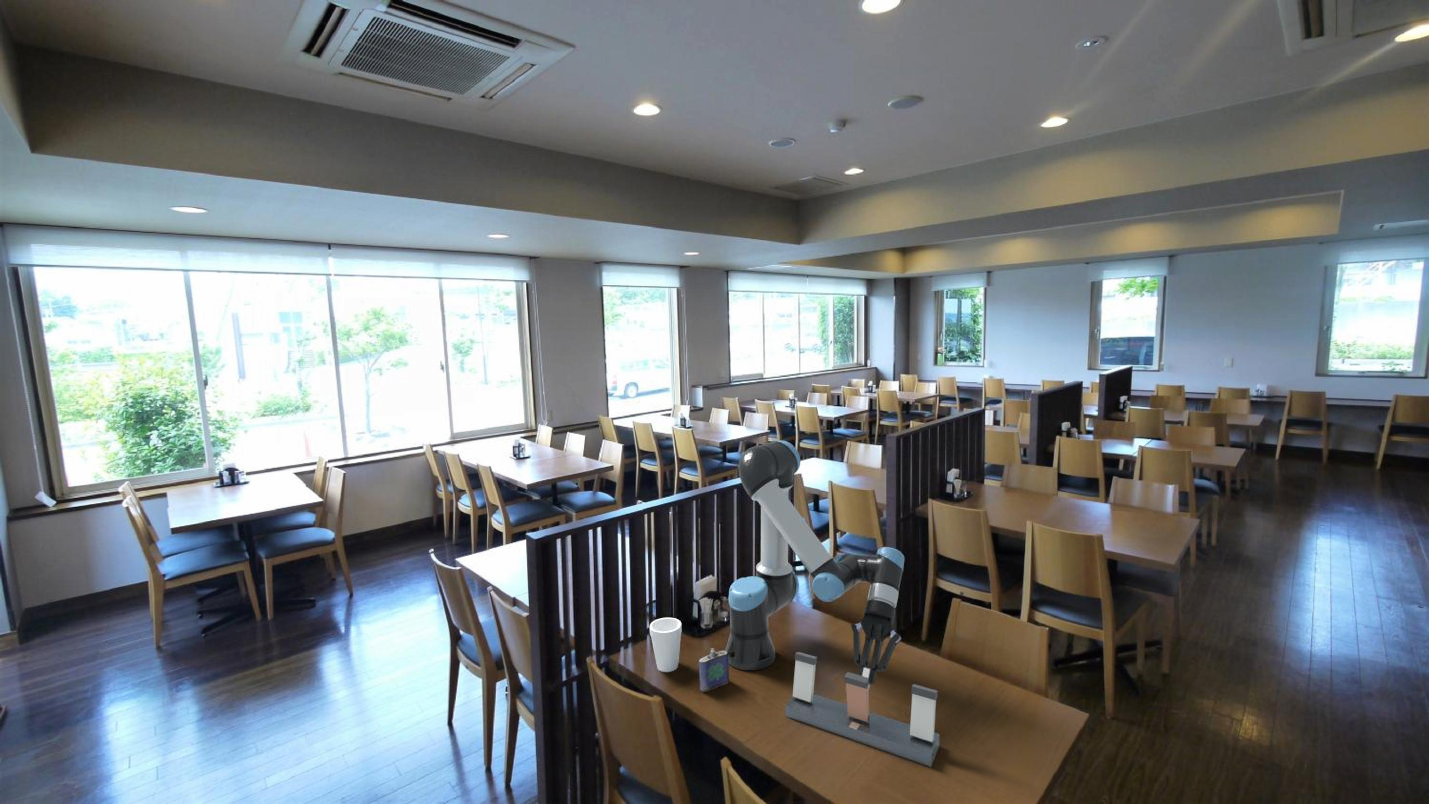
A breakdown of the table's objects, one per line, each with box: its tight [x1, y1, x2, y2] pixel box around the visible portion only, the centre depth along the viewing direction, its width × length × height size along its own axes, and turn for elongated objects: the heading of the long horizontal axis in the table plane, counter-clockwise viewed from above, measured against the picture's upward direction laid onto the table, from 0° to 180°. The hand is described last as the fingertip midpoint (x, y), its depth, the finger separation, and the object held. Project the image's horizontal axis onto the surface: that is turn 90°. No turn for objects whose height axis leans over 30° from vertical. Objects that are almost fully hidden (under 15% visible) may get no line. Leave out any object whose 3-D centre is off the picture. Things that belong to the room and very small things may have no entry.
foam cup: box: [649, 617, 683, 673], centre depth 176 cm, size 10×9×13 cm
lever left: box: [792, 651, 818, 702], centre depth 153 cm, size 2×5×11 cm, turn 57°
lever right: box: [909, 683, 938, 742], centre depth 137 cm, size 2×5×11 cm, turn 57°
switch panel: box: [784, 693, 940, 768], centre depth 144 cm, size 8×36×3 cm, turn 57°
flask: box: [698, 647, 730, 693], centre depth 165 cm, size 9×3×11 cm, turn 121°
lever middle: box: [844, 671, 871, 722], centre depth 143 cm, size 2×5×11 cm, turn 57°
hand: (862, 696), depth 145 cm, fingers closed
